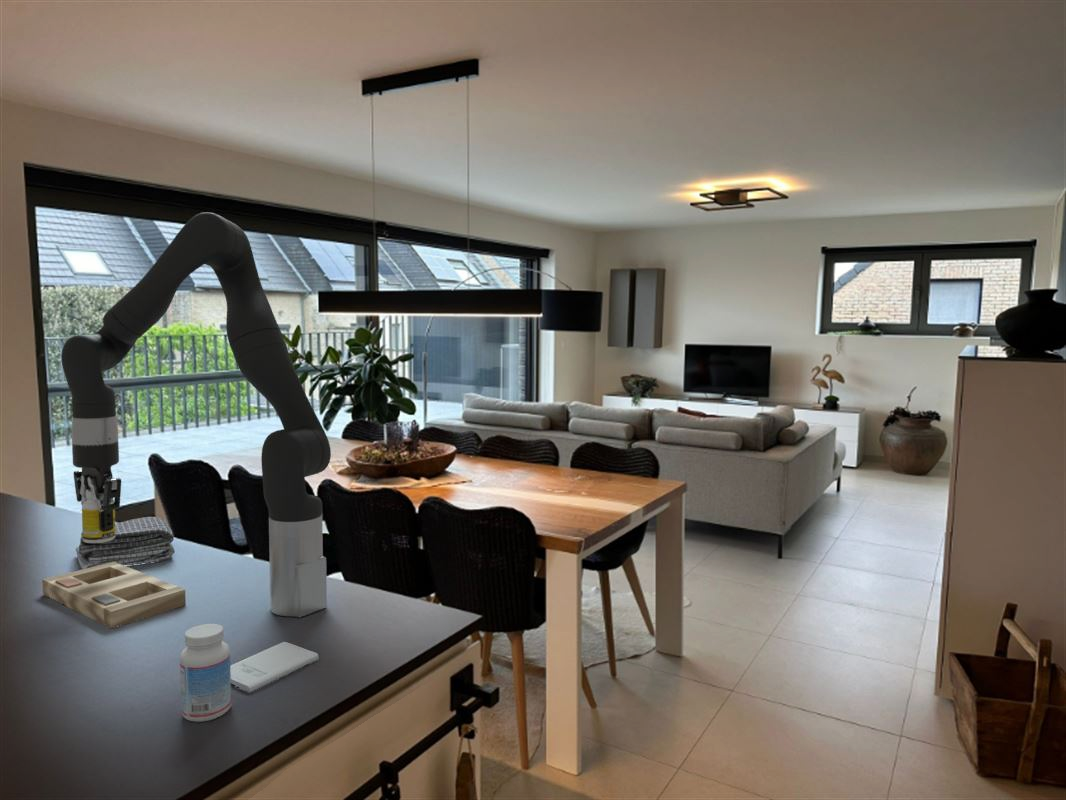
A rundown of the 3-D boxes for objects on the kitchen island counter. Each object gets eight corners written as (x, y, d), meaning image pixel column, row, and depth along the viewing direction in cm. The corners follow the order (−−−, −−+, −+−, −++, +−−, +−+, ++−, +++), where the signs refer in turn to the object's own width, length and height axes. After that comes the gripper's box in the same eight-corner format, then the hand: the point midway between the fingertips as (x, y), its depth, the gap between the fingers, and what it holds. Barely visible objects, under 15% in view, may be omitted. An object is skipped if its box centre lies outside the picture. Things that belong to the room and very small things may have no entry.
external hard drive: (318, 663, 112) (249, 697, 101) (283, 650, 116) (213, 681, 105) (318, 653, 111) (249, 686, 101) (283, 640, 116) (213, 670, 105)
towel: (177, 561, 157) (175, 526, 157) (78, 575, 147) (76, 538, 147) (167, 543, 170) (166, 510, 169) (75, 555, 160) (74, 521, 159)
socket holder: (185, 605, 132) (185, 587, 132) (111, 628, 121) (111, 610, 121) (114, 576, 147) (114, 560, 146) (43, 594, 136) (42, 577, 136)
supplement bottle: (104, 544, 135) (102, 493, 134) (76, 543, 135) (74, 492, 134) (121, 536, 141) (120, 487, 140) (94, 535, 141) (92, 486, 140)
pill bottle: (241, 704, 98) (239, 625, 97) (207, 727, 92) (205, 643, 91) (206, 696, 100) (203, 618, 99) (170, 718, 94) (168, 635, 93)
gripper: (135, 442, 135) (138, 530, 137) (98, 434, 143) (101, 517, 145) (92, 447, 129) (96, 539, 131) (56, 438, 137) (60, 525, 139)
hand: (98, 527), depth 138 cm, fingers closed on supplement bottle, 5 cm apart
